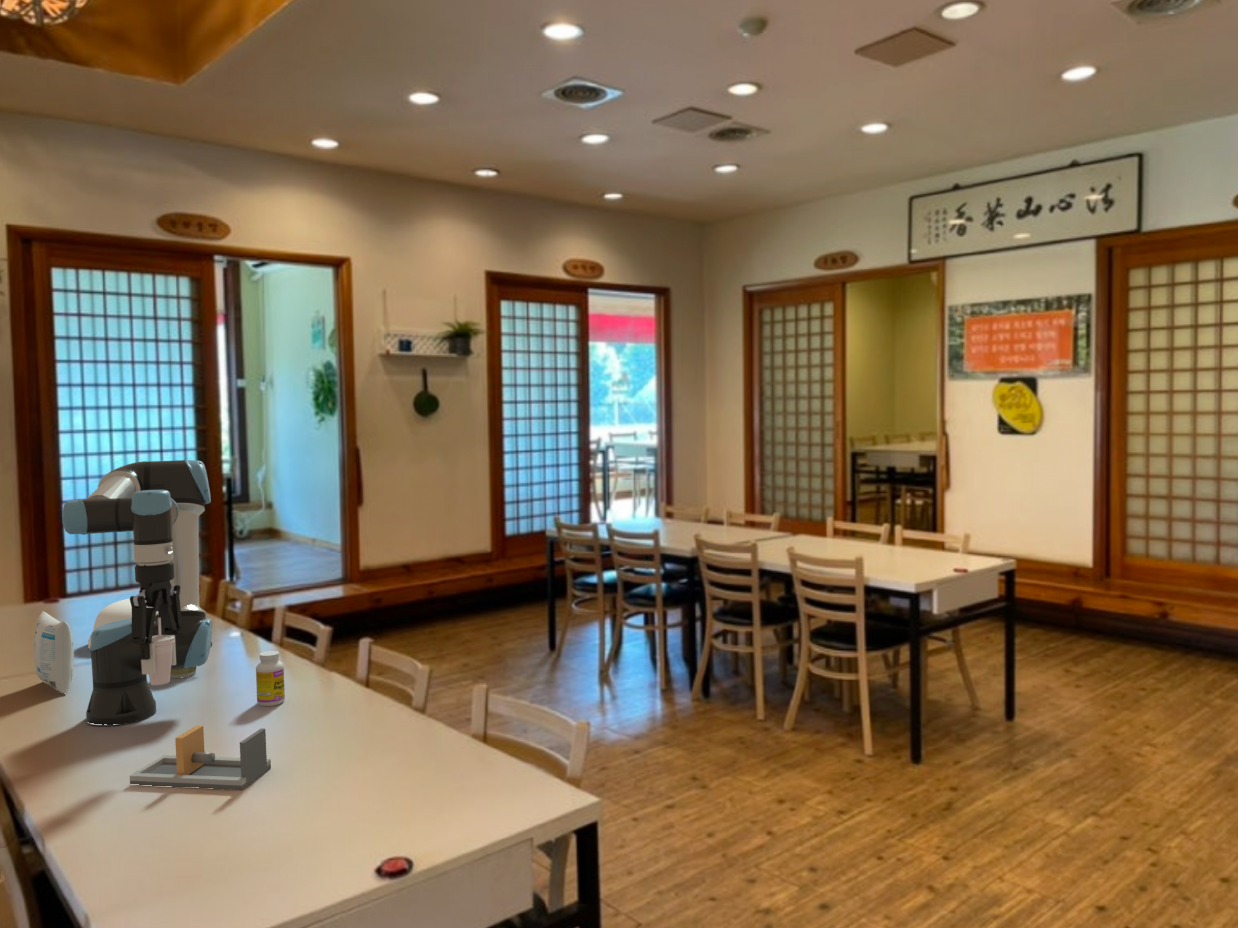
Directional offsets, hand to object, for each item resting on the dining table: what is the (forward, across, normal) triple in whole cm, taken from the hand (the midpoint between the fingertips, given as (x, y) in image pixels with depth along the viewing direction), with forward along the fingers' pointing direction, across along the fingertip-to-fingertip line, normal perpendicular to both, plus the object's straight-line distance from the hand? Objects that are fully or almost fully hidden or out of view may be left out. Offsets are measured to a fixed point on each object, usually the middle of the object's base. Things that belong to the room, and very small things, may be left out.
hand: (159, 669), depth 198 cm
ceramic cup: (+19, +59, +33) cm, 70 cm away
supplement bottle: (+19, +37, -4) cm, 42 cm away
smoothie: (+3, 0, 0) cm, 3 cm away
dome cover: (+18, +92, +72) cm, 118 cm away
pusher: (+18, -9, -14) cm, 25 cm away
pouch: (+19, +43, +62) cm, 77 cm away
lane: (+19, -9, -15) cm, 26 cm away
